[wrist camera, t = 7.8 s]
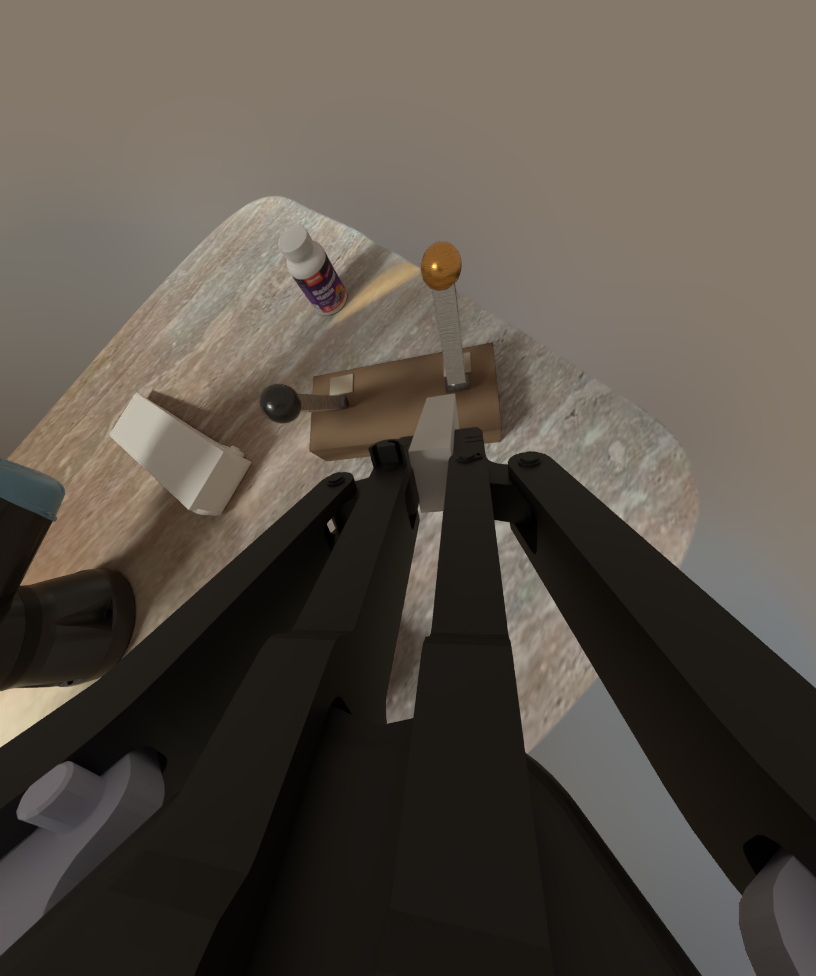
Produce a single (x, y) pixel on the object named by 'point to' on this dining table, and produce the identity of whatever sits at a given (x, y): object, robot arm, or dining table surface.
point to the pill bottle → (312, 270)
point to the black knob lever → (296, 403)
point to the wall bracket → (180, 456)
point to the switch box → (401, 402)
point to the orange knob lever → (446, 309)
